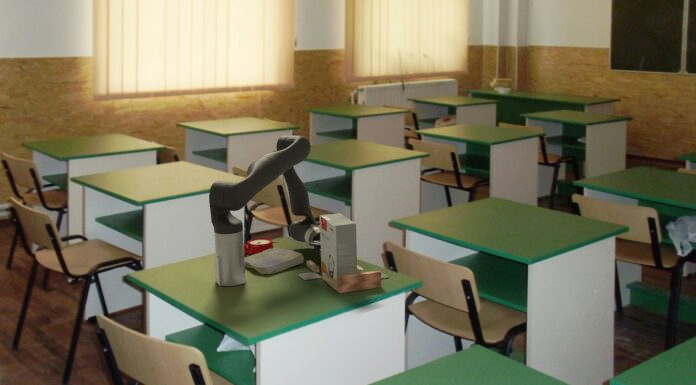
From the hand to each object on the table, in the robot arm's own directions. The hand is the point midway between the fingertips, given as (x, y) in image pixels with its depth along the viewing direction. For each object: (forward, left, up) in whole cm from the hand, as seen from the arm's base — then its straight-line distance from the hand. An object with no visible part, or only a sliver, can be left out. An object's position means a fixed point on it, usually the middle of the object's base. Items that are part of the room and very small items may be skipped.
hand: (335, 250), depth 276 cm
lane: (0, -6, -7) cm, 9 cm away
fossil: (-18, +17, -8) cm, 26 cm away
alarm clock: (-18, +34, -8) cm, 40 cm away
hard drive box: (-2, -8, -7) cm, 11 cm away
